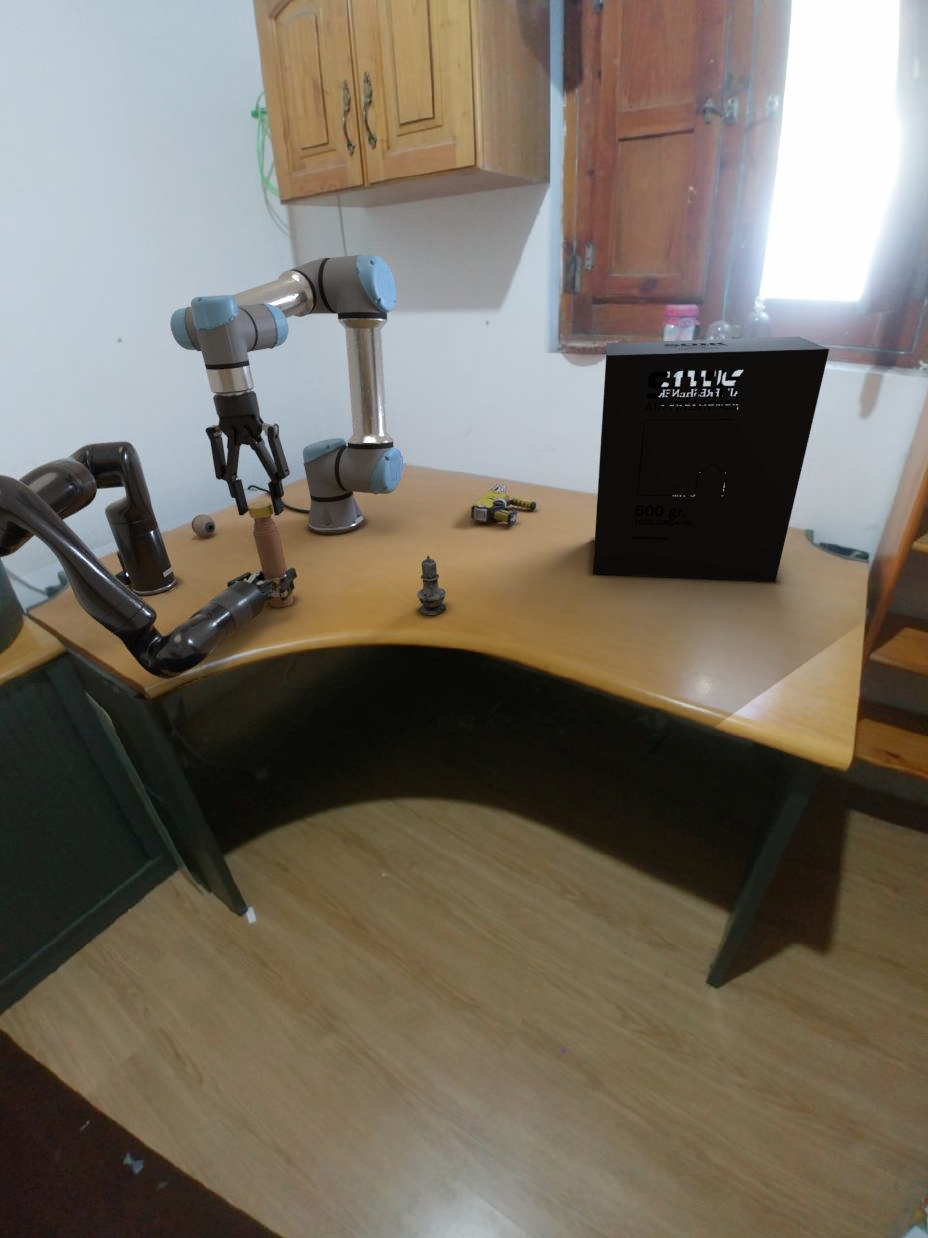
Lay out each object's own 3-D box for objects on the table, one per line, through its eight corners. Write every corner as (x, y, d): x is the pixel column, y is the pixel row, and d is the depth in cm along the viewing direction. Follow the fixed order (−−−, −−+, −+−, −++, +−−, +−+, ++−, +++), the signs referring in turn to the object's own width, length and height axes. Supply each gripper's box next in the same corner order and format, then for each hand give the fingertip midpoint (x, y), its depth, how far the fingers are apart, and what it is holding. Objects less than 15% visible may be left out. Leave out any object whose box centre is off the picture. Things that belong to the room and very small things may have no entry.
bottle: (284, 594, 134) (263, 501, 123) (298, 600, 131) (278, 505, 120) (265, 603, 130) (242, 508, 120) (279, 609, 128) (257, 513, 117)
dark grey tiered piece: (443, 616, 121) (439, 562, 115) (415, 615, 122) (409, 561, 116) (449, 602, 126) (446, 549, 120) (422, 601, 127) (417, 548, 121)
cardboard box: (755, 543, 144) (798, 336, 121) (775, 581, 127) (829, 348, 104) (594, 538, 151) (606, 342, 129) (592, 573, 134) (606, 355, 112)
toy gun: (544, 489, 177) (495, 482, 181) (524, 514, 157) (469, 505, 161) (542, 504, 180) (494, 497, 183) (522, 531, 159) (468, 521, 163)
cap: (245, 517, 119) (243, 507, 118) (258, 509, 123) (256, 500, 122) (265, 519, 118) (263, 509, 117) (278, 511, 122) (276, 501, 121)
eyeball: (204, 541, 163) (198, 520, 160) (190, 537, 166) (184, 517, 163) (223, 533, 168) (217, 513, 165) (208, 530, 171) (202, 510, 168)
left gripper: (261, 594, 112) (309, 557, 126) (198, 587, 116) (250, 551, 130) (270, 629, 116) (315, 589, 129) (208, 620, 120) (258, 583, 134)
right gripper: (293, 386, 111) (315, 506, 122) (194, 389, 114) (224, 506, 125) (276, 394, 104) (301, 519, 116) (172, 397, 107) (206, 519, 119)
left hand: (282, 570), depth 130 cm, fingers closed on bottle, 5 cm apart
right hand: (261, 512), depth 120 cm, fingers open, 7 cm apart
